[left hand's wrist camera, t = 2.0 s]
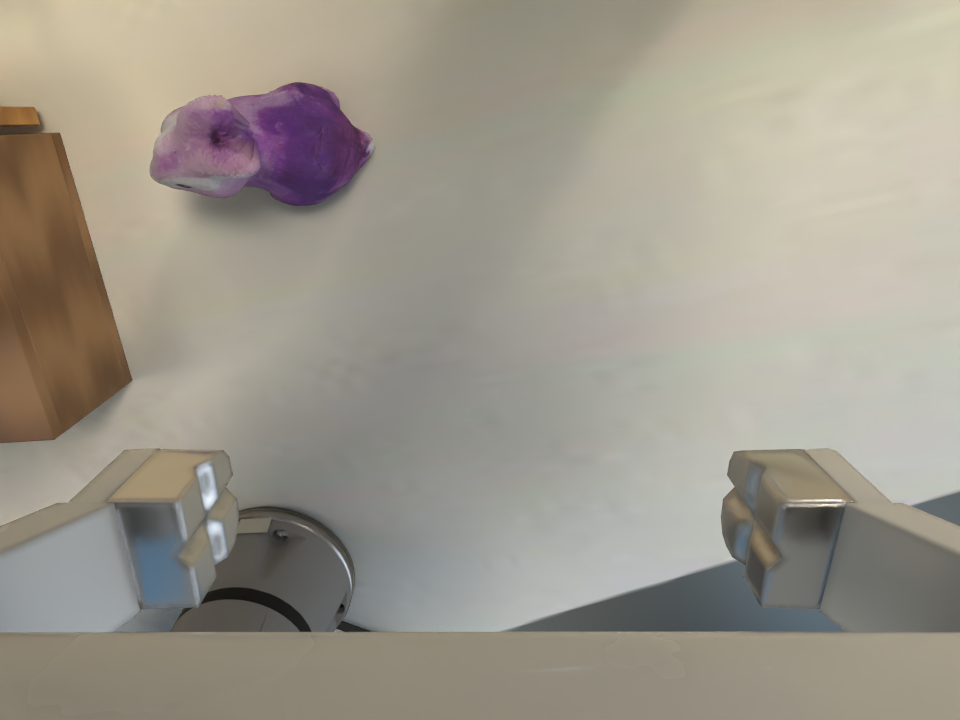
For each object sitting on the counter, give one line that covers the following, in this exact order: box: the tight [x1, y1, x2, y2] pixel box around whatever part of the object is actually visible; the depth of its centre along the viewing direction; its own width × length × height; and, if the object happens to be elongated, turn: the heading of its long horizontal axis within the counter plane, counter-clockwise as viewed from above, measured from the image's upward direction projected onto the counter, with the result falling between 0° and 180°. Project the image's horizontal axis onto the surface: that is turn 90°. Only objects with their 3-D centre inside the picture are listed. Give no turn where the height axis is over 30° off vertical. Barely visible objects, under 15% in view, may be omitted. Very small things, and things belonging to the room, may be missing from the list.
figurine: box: [150, 82, 375, 206], centre depth 40 cm, size 9×10×15 cm
